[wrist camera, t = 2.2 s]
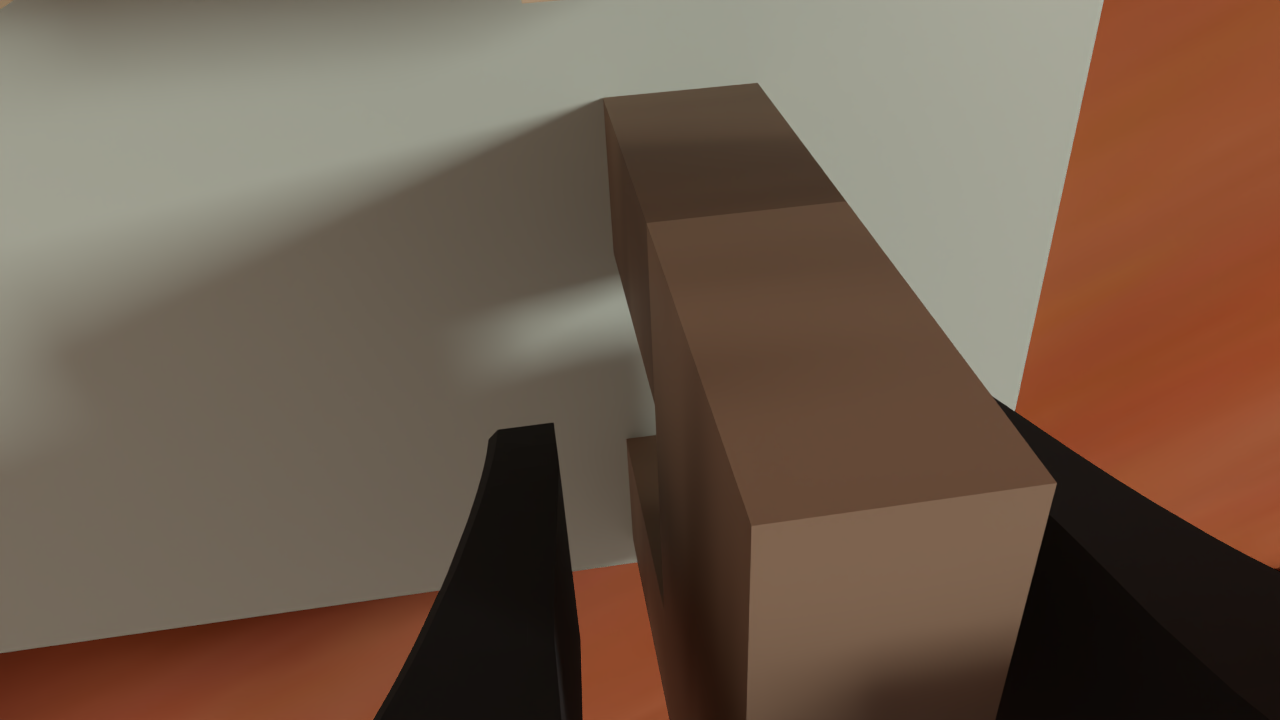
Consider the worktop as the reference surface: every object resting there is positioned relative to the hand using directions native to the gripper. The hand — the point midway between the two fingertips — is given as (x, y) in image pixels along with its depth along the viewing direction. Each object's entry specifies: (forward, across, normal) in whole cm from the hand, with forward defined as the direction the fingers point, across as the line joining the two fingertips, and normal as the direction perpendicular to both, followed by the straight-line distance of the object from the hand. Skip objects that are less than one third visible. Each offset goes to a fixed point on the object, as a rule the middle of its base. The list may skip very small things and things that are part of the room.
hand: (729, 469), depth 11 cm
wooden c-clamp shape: (+3, 0, 0) cm, 3 cm away
